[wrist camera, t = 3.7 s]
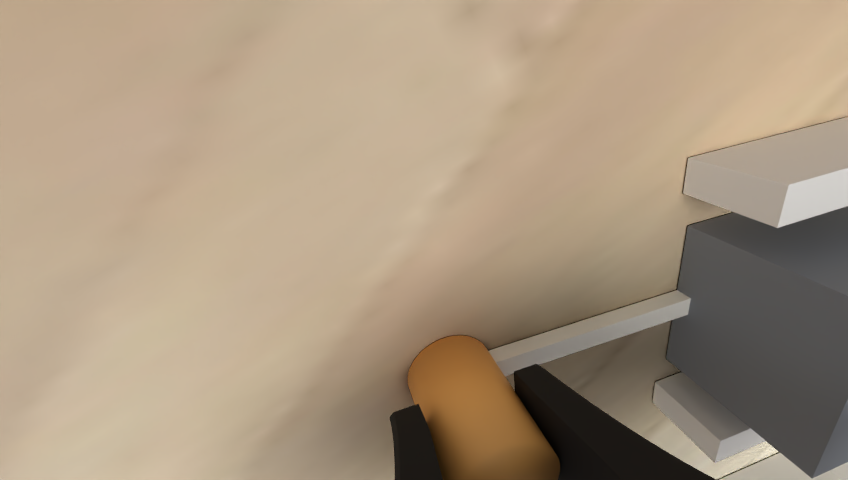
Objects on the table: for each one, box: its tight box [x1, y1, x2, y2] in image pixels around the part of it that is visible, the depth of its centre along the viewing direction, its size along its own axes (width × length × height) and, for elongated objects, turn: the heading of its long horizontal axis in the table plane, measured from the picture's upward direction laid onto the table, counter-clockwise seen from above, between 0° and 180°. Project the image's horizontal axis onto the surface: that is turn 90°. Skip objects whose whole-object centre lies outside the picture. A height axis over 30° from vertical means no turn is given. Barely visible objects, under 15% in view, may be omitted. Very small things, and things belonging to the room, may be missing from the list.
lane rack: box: [652, 117, 848, 480], centre depth 13 cm, size 25×10×2 cm, turn 8°
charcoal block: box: [408, 206, 848, 480], centre depth 11 cm, size 5×14×4 cm, turn 98°
